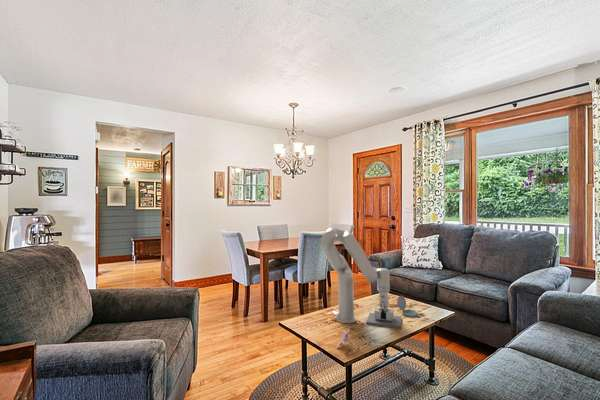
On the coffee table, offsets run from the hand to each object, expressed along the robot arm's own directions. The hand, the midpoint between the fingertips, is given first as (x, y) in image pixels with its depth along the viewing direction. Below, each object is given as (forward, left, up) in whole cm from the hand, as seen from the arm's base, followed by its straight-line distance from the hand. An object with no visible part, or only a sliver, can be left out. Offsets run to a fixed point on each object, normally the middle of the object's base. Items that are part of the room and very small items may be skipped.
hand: (384, 316), depth 182 cm
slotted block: (0, 0, -1) cm, 1 cm away
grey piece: (0, 0, -3) cm, 3 cm away
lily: (-16, -39, -4) cm, 43 cm away
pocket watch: (+15, +18, -4) cm, 24 cm away
